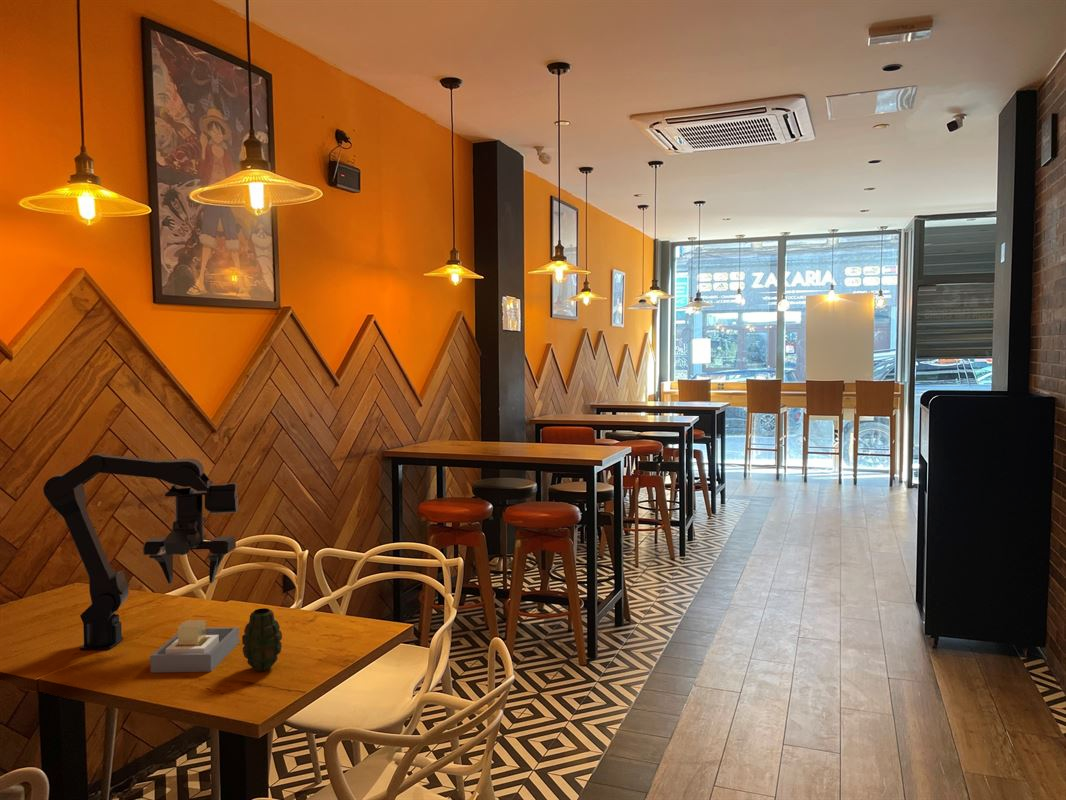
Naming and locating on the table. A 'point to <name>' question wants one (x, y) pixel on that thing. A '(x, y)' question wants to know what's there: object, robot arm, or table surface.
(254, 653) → the grenade
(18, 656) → the table surface
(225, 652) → the walled frame
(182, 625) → the peg
